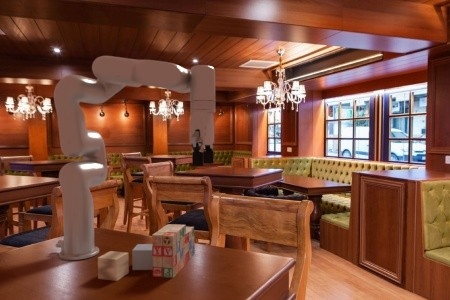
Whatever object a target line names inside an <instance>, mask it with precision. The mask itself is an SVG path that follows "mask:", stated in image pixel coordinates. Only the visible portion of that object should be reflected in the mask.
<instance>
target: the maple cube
mask: <svg viewBox="0 0 450 300" xmlns="http://www.w3.org/2000/svg"><path fill="white" fill-rule="evenodd" d="M129 258H130V257H129V252H126V251H125V252H123V251H113V250H110V251H108V252H105V253H104V254H102V255H100V256H98V257H97V279H98V280H107V281H114V282H117V281H119V280H120V279H122V278H123V277H125V276H126V275H129V272H130V269H129V262H130V261H129Z"/></svg>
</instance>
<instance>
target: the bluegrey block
mask: <svg viewBox="0 0 450 300" xmlns="http://www.w3.org/2000/svg"><path fill="white" fill-rule="evenodd" d="M131 251H132V252H131V253H132V255H131V256H132V257H131V258H132V271H153V256H152V243H137V244H136V245H135V246H134V248H133V249H132V250H131Z"/></svg>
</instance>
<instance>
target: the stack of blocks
mask: <svg viewBox="0 0 450 300" xmlns="http://www.w3.org/2000/svg"><path fill="white" fill-rule="evenodd" d="M151 239H152V240H151V241H152V243H151V244H152V256H153V270H152V277H155V278H167V279H168V278H169V279H173V278H174V277H175V276H176V275H178V274H179V272H180V271H181V270H182V269H183V268H184V266H185V265H186V264H187V263H188V261H189V260H190V259H191V258H192V257H193V256H194V255H195V253H196V252H195V246H196V245H195V226H187V225H186V224H176V223H175V224H173V223H172V224H169V223H168V224H166V225H164V226H163V227H162V228H160V229H159V230H157V231H155V233H153V234H152V235H151Z"/></svg>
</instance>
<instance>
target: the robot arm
mask: <svg viewBox="0 0 450 300" xmlns="http://www.w3.org/2000/svg"><path fill="white" fill-rule="evenodd" d="M91 70H92V73H93V75H94V76H95V78H96V79H94V78H91V77H87V76H83V75H78V74H69V75H65V76H64V77H62V78H61V79H60V80H59V81H58V82H57V83H56V85H55V87H54V91H53V101H54V107H55V111H56V116H57V122H58V124H57V125H58V134H59V135H58V136H59V143H60V149H61V153H62V154H63V155H65V157H68V158H82V160H79V161H78V160H77V161H75V160H74V161H71V162H69V163H66V164H64V165H63V166H62V167H61V169H60V170H59V173H58V181H59V186H60V189H61V195H62V197H61V198H62V215H63V216H62V218H63V219H62V220H63V222H62V224H63V226H62V227H63V239H59V240H58V241H57V243H55V247H56V248H61V250H60V251H59V252H58V258H60V259H61V260H64V261H65V260H66V261H80V260H85V259H89V258H92V257H95V256H97V255H98V254H99V253H100V248H99V246H96V245H95V215H94V214H95V213H94V210H95V208H94V199H93V197H94V196H93V195H92V192H91V190H90V188H93V187H97V186H100V185H102V184H104V182H105V181H106V180H107V177H108V162H107V153H106V151H107V150H106V144H105V141H104V139H103V137H102V135H101V134H100V133H99V132H98V131H95V130H92V129H87V123H86V115H85V113H84V109H82V107H81V105H80V103H84V104H85V103H86V104H93V105H101V104H103V103H105V102H107V101H108V100H109V99H111V98H112V97H114V96H115V94H118V93H119V92H120V91H121V90H122V89H124V88H125V87H126V86H128V87H133V88H134V87H135V88H139V87H142V86H149V87H155V88H159V89H161V88H162V89H166V90H170V91H173V92H175V93H179V94H187V93H190V94H189V97H190V98H189V99H190V103H189V104H190V107H189V108H190V109H189V110H190V112H189V113H190V122H189V144H190V146H191V147H192V148H191V153H192V154H191V155H192V157H191V158H192V161H191V162H192V166H193V167H203V166H204V165H206V164H209V165H212V164H213V165H214V161H215V158H214V156H215V155H214V154H215V153H214V148H215V147H214V143H215V123H214V122H215V121H214V114H215V113H216V69H215V68H214V67H213V66H211V65H207V64H197V65H193V66H191V68H190V69H187V68H184V67H183V66H181V65H178V64H176V63H173V62H168V61H162V60H153V59H134V58H128V57H120V56H112V55H102V56H98V57H96V58H95V59H94V60H93V62H92V65H91ZM203 149H204V150H203Z"/></svg>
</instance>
